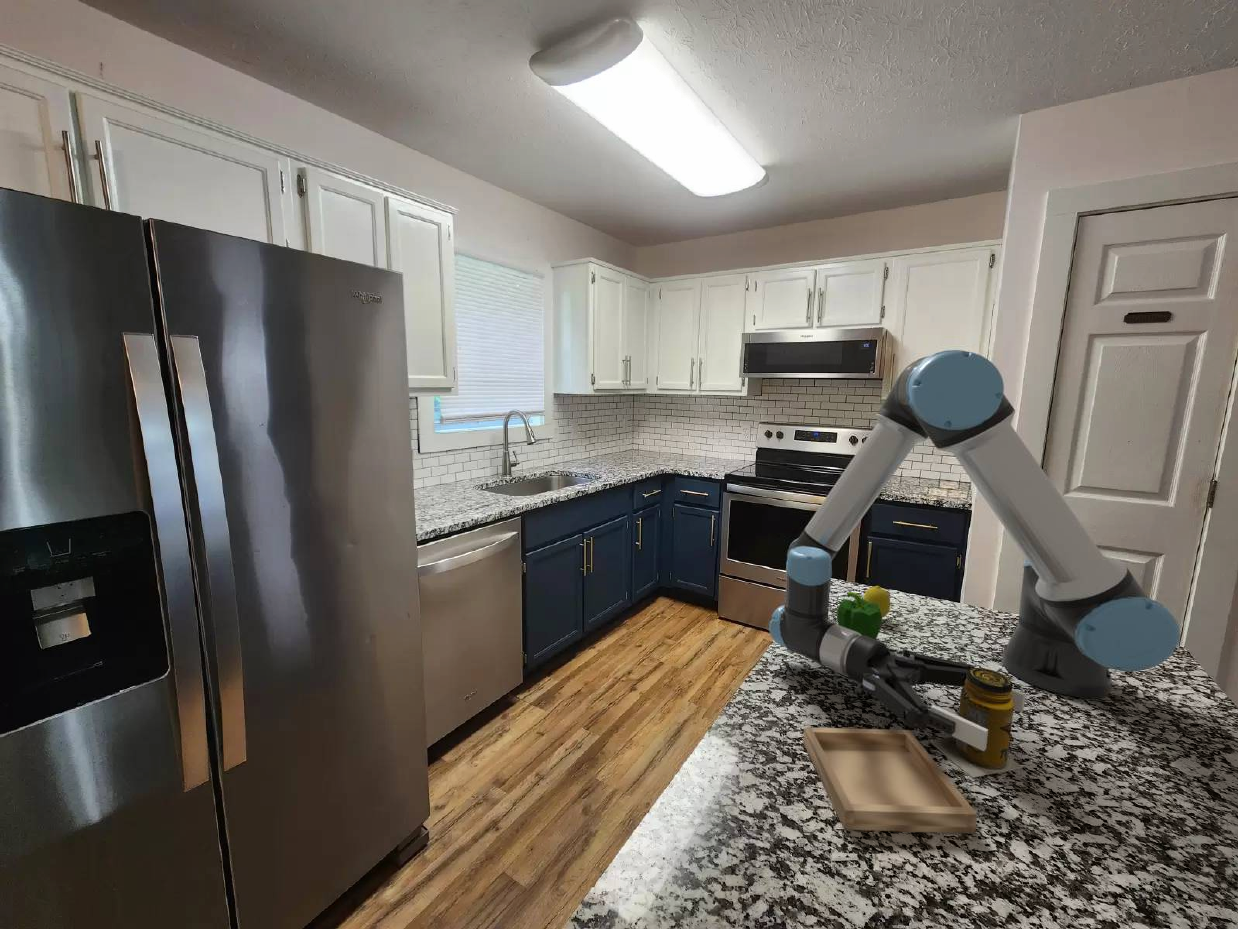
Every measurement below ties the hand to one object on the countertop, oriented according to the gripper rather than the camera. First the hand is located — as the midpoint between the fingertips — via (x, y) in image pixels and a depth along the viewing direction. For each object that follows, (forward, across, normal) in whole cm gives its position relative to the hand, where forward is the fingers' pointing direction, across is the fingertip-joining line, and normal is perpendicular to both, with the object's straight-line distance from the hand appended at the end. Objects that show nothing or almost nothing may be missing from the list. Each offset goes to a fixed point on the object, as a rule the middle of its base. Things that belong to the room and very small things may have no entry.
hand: (1006, 721), depth 69 cm
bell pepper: (-31, -19, -7) cm, 37 cm away
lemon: (-34, -32, -7) cm, 47 cm away
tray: (-8, +16, -7) cm, 20 cm away
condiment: (-3, 0, -7) cm, 8 cm away
